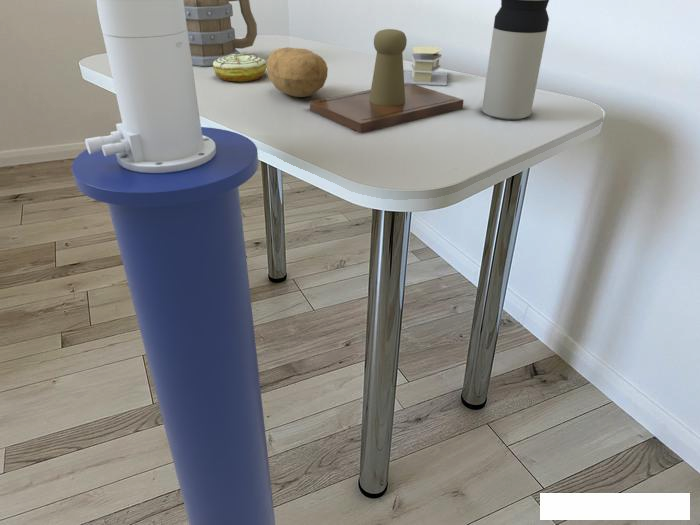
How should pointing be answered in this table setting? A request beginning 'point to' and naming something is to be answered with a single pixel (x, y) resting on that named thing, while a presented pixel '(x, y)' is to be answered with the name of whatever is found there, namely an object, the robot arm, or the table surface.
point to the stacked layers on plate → (425, 67)
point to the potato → (296, 71)
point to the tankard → (216, 29)
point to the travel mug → (515, 58)
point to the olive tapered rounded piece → (388, 68)
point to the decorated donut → (239, 67)
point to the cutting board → (384, 108)
